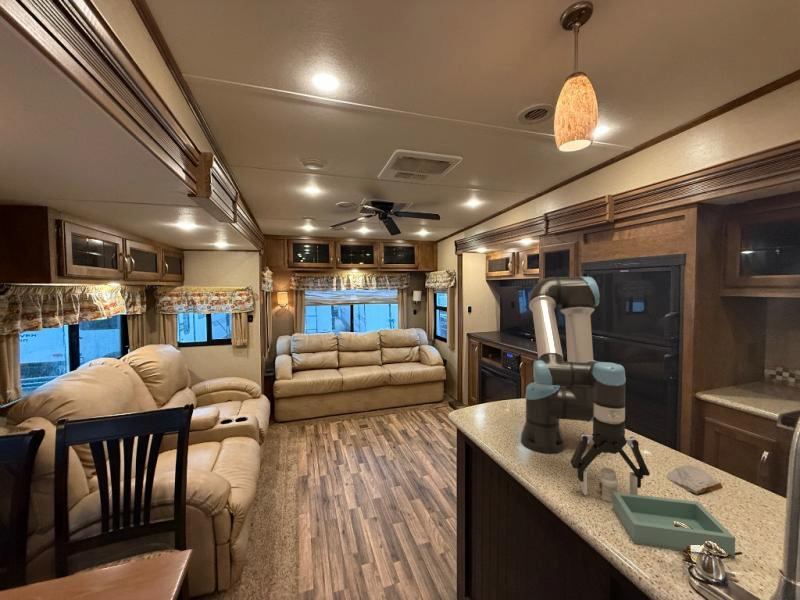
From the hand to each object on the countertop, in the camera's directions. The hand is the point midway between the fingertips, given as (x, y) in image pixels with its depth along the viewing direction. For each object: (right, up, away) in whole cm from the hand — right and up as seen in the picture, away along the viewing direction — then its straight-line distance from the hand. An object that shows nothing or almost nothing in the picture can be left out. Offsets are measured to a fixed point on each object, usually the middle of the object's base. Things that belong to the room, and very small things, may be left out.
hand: (608, 494), depth 92 cm
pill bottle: (0, -1, 0) cm, 1 cm away
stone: (+29, -1, +6) cm, 30 cm away
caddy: (+6, -1, -13) cm, 14 cm away
